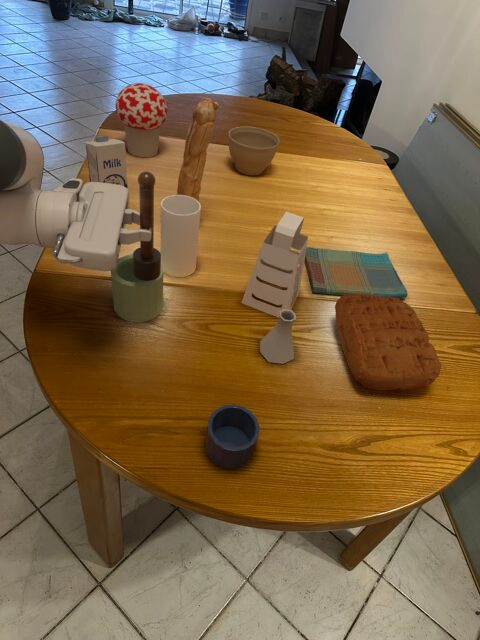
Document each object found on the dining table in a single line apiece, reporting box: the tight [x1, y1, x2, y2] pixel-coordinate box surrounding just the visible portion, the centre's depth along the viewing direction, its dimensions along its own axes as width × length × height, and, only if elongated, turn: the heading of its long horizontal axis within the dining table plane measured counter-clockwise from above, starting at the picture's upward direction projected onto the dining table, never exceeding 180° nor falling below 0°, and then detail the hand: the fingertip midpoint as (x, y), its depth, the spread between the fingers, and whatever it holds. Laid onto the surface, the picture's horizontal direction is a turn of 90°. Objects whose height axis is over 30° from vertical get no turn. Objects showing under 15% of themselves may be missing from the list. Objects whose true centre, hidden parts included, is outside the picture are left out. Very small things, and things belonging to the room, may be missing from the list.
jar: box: [110, 253, 165, 323], centre depth 84 cm, size 10×10×10 cm
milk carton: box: [84, 134, 128, 189], centre depth 102 cm, size 7×7×20 cm
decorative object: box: [115, 82, 168, 158], centre depth 131 cm, size 16×16×20 cm
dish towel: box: [304, 246, 408, 300], centre depth 104 cm, size 17×23×2 cm
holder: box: [204, 404, 261, 470], centre depth 65 cm, size 8×8×6 cm
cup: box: [160, 194, 202, 278], centre depth 92 cm, size 8×8×16 cm
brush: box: [132, 170, 161, 281], centre depth 69 cm, size 5×5×19 cm
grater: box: [240, 211, 309, 319], centre depth 88 cm, size 10×10×20 cm
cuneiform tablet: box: [334, 294, 442, 391], centre depth 84 cm, size 22×17×8 cm
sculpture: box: [176, 97, 220, 204], centre depth 102 cm, size 7×9×30 cm
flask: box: [259, 309, 297, 365], centre depth 80 cm, size 7×7×10 cm
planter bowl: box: [228, 126, 280, 176], centre depth 136 cm, size 16×16×11 cm
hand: (152, 228), depth 69 cm, fingers closed on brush, 2 cm apart
